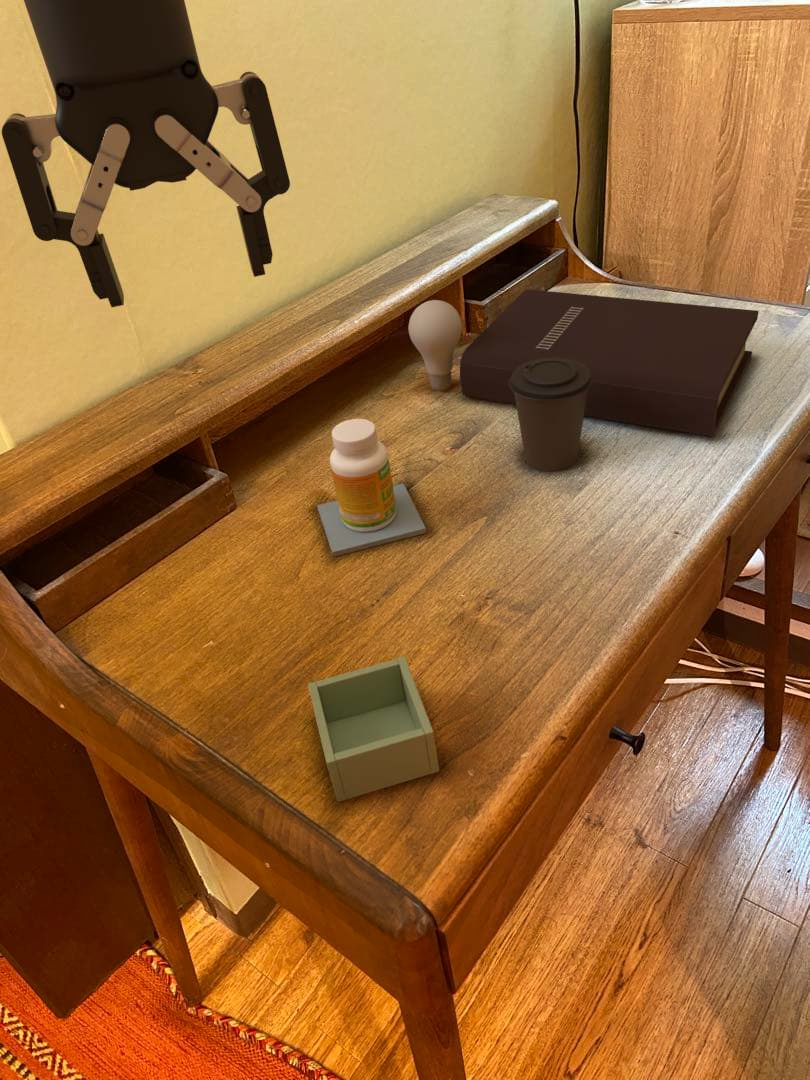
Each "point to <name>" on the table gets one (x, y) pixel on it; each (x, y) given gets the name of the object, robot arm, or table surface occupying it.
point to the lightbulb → (436, 339)
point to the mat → (399, 528)
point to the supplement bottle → (362, 476)
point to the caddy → (373, 728)
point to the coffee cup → (551, 410)
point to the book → (620, 355)
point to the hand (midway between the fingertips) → (188, 287)
